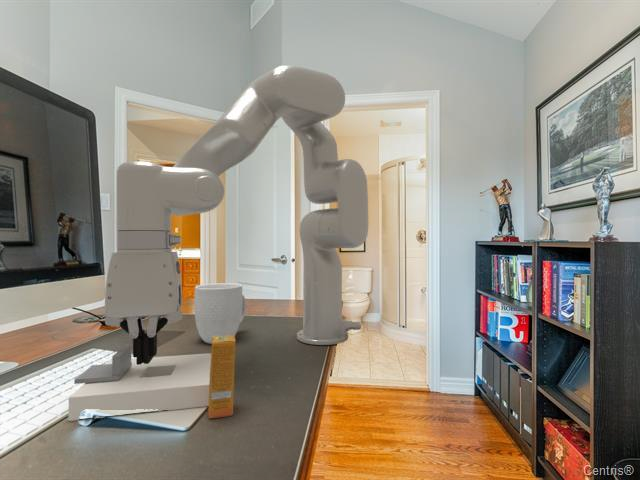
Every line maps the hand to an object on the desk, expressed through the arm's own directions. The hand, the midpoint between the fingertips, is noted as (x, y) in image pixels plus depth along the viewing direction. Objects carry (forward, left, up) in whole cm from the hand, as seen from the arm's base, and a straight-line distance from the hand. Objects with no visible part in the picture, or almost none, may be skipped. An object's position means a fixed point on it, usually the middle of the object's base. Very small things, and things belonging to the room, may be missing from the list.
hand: (145, 360), depth 50 cm
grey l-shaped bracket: (+5, 0, -1) cm, 6 cm away
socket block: (-2, 0, -5) cm, 5 cm away
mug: (-10, -27, -5) cm, 29 cm away
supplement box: (-12, +9, -5) cm, 16 cm away
